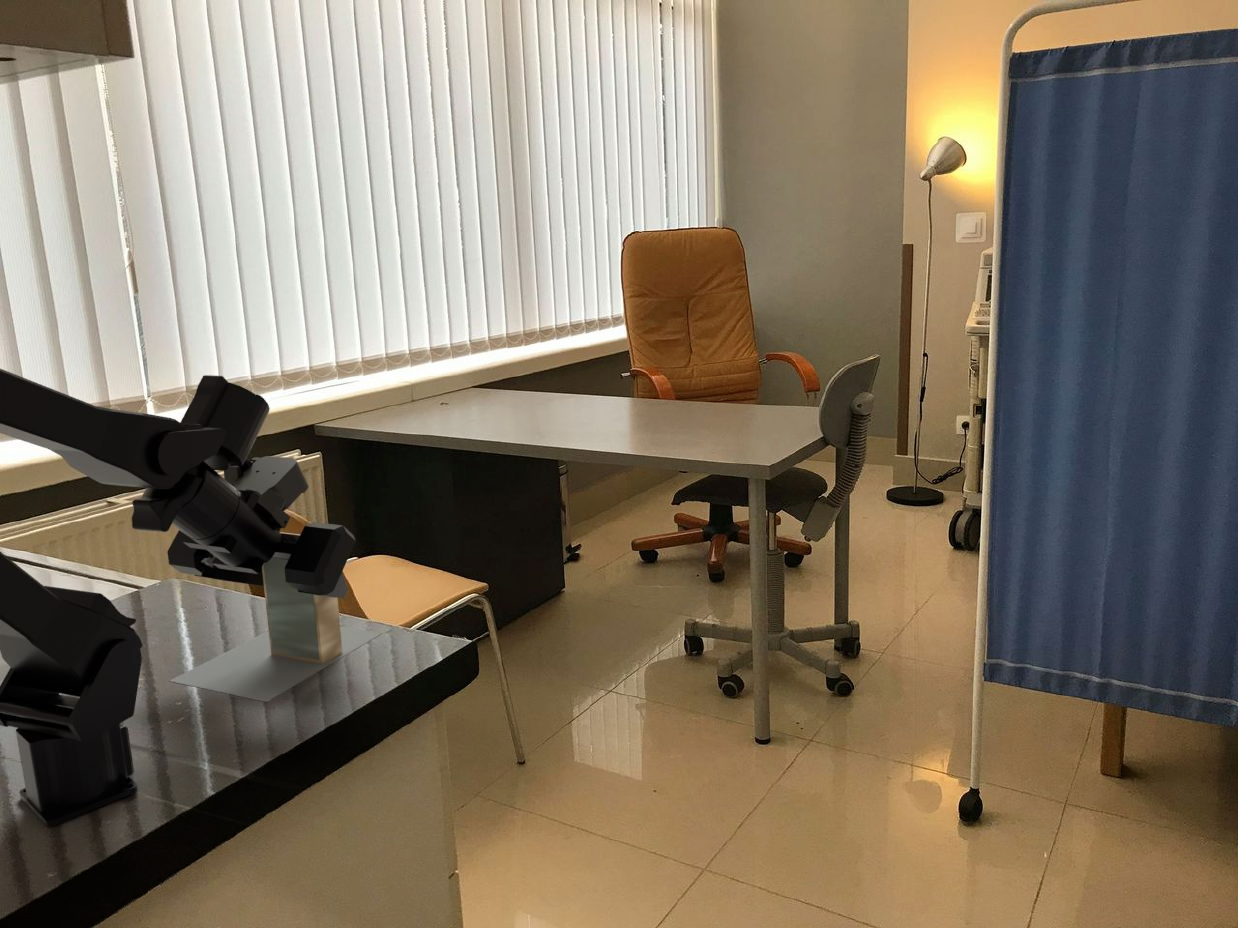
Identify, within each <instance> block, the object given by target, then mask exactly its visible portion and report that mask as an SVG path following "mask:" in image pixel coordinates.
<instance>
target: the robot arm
mask: <svg viewBox="0 0 1238 928" xmlns="http://www.w3.org/2000/svg"><path fill="white" fill-rule="evenodd" d="M270 409H271V408H270V405H269V403H268V402H267V401H266V399H265V398H264V397H263V396H262V395H260V394H256V393H254V392H252V391H251V390H249V389H248V388H246V387H243V386H240V385H239V384H237V383H236V384H235V383H232V382H229V381H228V380H227V379H226V378H225V377H224V376H223V375H212V374H209V375H208V374H206V375H205V374H204V375H203V376H202V378H201V379H200V381H199V382H198V385H197V388H196V390H195V394H194V396H193V398H192V399H191V402H190V404H189V406H188V407H187V410H186V411H185V413H184V415H183V417H182V418H181V420H180V421H178V419H175V418H171V417H167V416H160V415H156V414H149V413H146V412H145V413H144V412H136V411H130V410H122V409H116V408H115V409H114V408H107V407H102V406H96V405H93V404H91V403H89V402H86V401H83V400H82V399H78V398H76V397H74V396H71V395H69V394H66V393H64V392H63V393H62V392H60V391H58V390H56V389H53V388H51V387H47V386H46V385H43V384H41V383H37V382H35V381H33V380H31V379H28V378H25V377H23V376H21V375H18V374H15V373H13V372H10V371H8V370H5V369H3V368H0V434H1V435H5V436H8V437H10V438H13V439H17V440H20V441H22V442H25V443H27V444H31V445H35V446H37V447H40V448H43V449H47V450H49V451H51V452H53V453H54V454H56V455H58V456H60V457H62V459H64V462H66V464H67V465H68V466H69V467H71V468H72V469H74V470H76V471H77V472H79V473H81V474H83V475H85V476H86V477H89V479H92V480H93V481H96V482H98V483H100V484H102V485H103V484H104V485H111V486H121V487H134V488H145V490H144V491H143V493H142V495H141V497H139V498H136V499H133V500H132V502H131V505H132V507H133V511H132V515H131V526H132V527H131V528H132V529H133V530H136V531H147V532H156V533H157V532H158V533H166V532H168V531H169V530H170V528H171V526H174V527H175V528H176V529H178V531H177V533H176V535H175V536H174V539H172V542H171V544H170V546H169V548H168V550H167V553H166V554H167V560H168V565H169V566H170V567H172V568H173V569H175V570H177V571H178V572H179V573H181V574H186V575H193V576H194V577H197V578H203V579H204V578H205V579H209V580H218V581H224V582H231V583H236V584H237V583H238V584H239V583H240V584H245V585H252V586H260V587H264V582H263V573H262V566H263V564H264V563H267V562H268V561H269V560H270V559H271V558H275V559H282V560H288V562H287V564H286V566H285V568H284V569H285V579H286V583H288V584H289V585H290V586H292V587H293V588H296V589H298V592H300V593H307V594H313V595H319V596H327V597H335V598H338V599H342V600H343V599H345V598H346V596H347V593H348V592H349V588H348V584H347V581H346V579H345V577H344V574H343V570H344V568H345V567H346V563H347V561H348V559H349V557H350V555H351V552H352V550H353V548H354V546H355V544H356V542H357V541H356V538H355V535H354V534H353V533H352V532H350V531H349V529H348V528H346V527H345V526H344V525H340V524H335V523H334V524H333V523H322V522H316V521H314V522H311V523H309V524H305V525H304V527H303V528H302V531H301V532H300V534H299V535H293V534H294V533H291V534H285V533H286V532H283V533H280V531H281V529H285V528H287V525H288V523H289V522H290V519H291V516H290V515H289V514H288V513H286V512H285V511H286V510H287V509H289V508H290V507H291V505H292V504H293V503H294V502H295V501H296V500H297V499H298V498H299V497H300V496H301V495H302V494H305V493H306V492H307V490H308V489H309V484H308V481H307V480H306V478H305V477H306V476H305V475H304V474H303V471H302V469H301V467H300V465H299V462H298V460H297V459H296V458H294V457H283V456H273V455H267V456H263V457H253V458H251V460H250V459H248V456H249V454H250V452H251V451H252V448H253V446H254V444H255V441H256V440H257V437H258V436H259V434H260V431H261V430H262V428H263V426H264V423H265V422H266V419H267V417H268V415H269V413H270ZM217 471H221V472H222V471H223V475H224V476H222V475H220V473H218V472H217ZM136 622H137V619H136V618H133V617H129V616H126V615H125V614H123V613H121V612H120V610H118V609H117V607H116V606H115V605H114V604H113V602H112V601H111V600H110V599H109V598H108V597H106V596H105V595H104V594H103V593H100V592H92V591H85V590H80V589H79V590H78V589H71V588H65V587H57V586H50V585H44V584H42V583H41V582H39V581H38V580H37V579H36V578H35V577H33V576H32V575H31V574H30V573H28V572H27V571H25V570H24V569H23V568H22V567H20V566H19V565H18V564H17V563H15V562H14V561H13V560H12V559H11V558H9V557H8V556H7V555H6V554H4V553H3V552H2V551H0V655H1V658H2V659H3V661H4V662H5V663H6V664H7V665H8V666H9V667H10V668H9V670H8V671H7V673H6V675H5V677H4V678H3V680H2V682H1V683H0V727H3V728H5V727H6V728H8V727H11V728H16V729H15V734H16V740H17V747H18V753H19V758H20V762H21V763H20V764H21V768H22V769H21V770H22V775H23V780H24V781H23V782H24V786H25V787H24V788H22V789H20V791H19V797H20V799H21V800H22V802H24V803H25V805H26V806H27V807H28V808H29V809H30V810H31V811H32V813H34V814H35V816H37V817H38V818H39V819H40V821H42V823H43V824H45V825H46V826H49V827H51V826H55V825H58V824H61V823H63V822H65V821H68V820H70V819H72V818H75V817H78V816H81V815H83V814H85V813H88V812H90V811H92V810H95V809H99V808H100V807H103V806H106V805H107V804H110V803H112V802H115V801H117V800H118V801H119V799H123V798H125V797H128V796H130V795H132V794H134V793H136V792H138V789H139V788H138V784H137V782H135V781H134V780H133V779H132V778H131V777H130V776H132V775H133V774H134V772H135V769H134V762H133V755H132V749H131V740H130V734H129V728H128V726H126V725H125V724H124V722H125V721H127V720H128V719H130V718H132V717H134V715H135V709H136V701H137V696H138V695H137V694H138V690H139V683H140V682H139V681H140V675H141V668H142V658H143V656H142V648H143V647H144V646H143V640H142V638H141V636H140V634H138V632H137V631H136V630H135V629H134V628H133V627H132V626H133V625H134V624H136Z"/></svg>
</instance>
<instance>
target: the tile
mask: <svg viewBox="0 0 1238 928" xmlns="http://www.w3.org/2000/svg"><path fill="white" fill-rule="evenodd" d="M279 532H280V531H279ZM280 533H285V534H293V535H300V534H299V533H291V532H290V533H289V532H284V531H283V532H282V531H281V532H280ZM287 562H288V560H282V559H275V558H271V559H270V560H269V561H268V562H267V563H264V564H263V566H262V573H263V582H264V586H263V590H264V600H265V607H266V609H265V610H266V617H267V619H266V620H267V627H268V631H269V638H270V647H271V655H277V656H282V657H287V658H293V659H298V660H303V661H308V662H314V663H319V664H324V663H325V662H327V661H329V660H331V659H332V658H334V657H336V656H337V655H339V654H341V653H342V642H341V631H340V626H341V623H340V622H341V621H340V611H339V600H338V599H339V598H335V597H327V596H319V595H313V594H307V593H300V592H298V589H296V588H293V587H292V586H290V585H289V584H288V583H286V579H285V569H284V568H285V566H286V564H287Z"/></svg>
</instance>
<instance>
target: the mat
mask: <svg viewBox="0 0 1238 928" xmlns="http://www.w3.org/2000/svg"><path fill="white" fill-rule="evenodd" d="M340 631H341V642H342V653H341V654H339V655H337V656H336V657H334V658H332V659H331V660H329V661H327V662H325V663H324V664H319V663H314V662H308V661H303V660H298V659H293V658H287V657H282V656H277V655H271V647H270V638H269V630H267V631H265V632H263V633H261V634H259V635H257V636H254V637H253V638H251V639H249V640H247V641H245V642H243V643H242V644H239V645H237V646H235V647H233V648H231V649H230V650H228V651H225V652H224V653H221V654H220V655H218V656H215V657H213V658H212V659H209V660H208V661H206V662H204V663H202V664H200V665H197V666H195V667H194V668H192V669H190V670H188V671H186V672H184V673H182V674H179V675H178V676H176V677H174V678H172V679H169V682H171V683H175V684H179V685H185V686H190V687H195V688H198V689H203V690H206V691H207V690H209V691H212V692H213V691H214V692H217V693H221V694H227V695H232V696H236V697H241V698H245V699H250V700H253V701H254V700H255V701H260V702H265V703H268V702H269V701H271V700H273V699H274V698H276V697H278V696H280V695H281V694H283V693H284V692H287V691H288V690H290V689H291V688H293V687H295V686H298V684H300V683H301V682H303V681H305V680H307V679H309V678H310V677H312V676H314V675H315V674H317V673H318V672H320V671H322V670H323V669H325V668H327V667H328V666H330V665H332V664H334V663H335V662H337V661H339V660H341V659H342V658H344V657H345V656H347V655H349V654H350V653H352V652H354V651H355V650H356V649H359V648H360V647H362V646H364V645H366V644H367V643H369V642H370V641H372V640H374V639H376V638H377V637H379V636H380V635H382V634H383V633H382V632H376V631H372V630H371V631H370V630H365V629H360V628H353V627H346V626H341V625H340Z"/></svg>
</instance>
